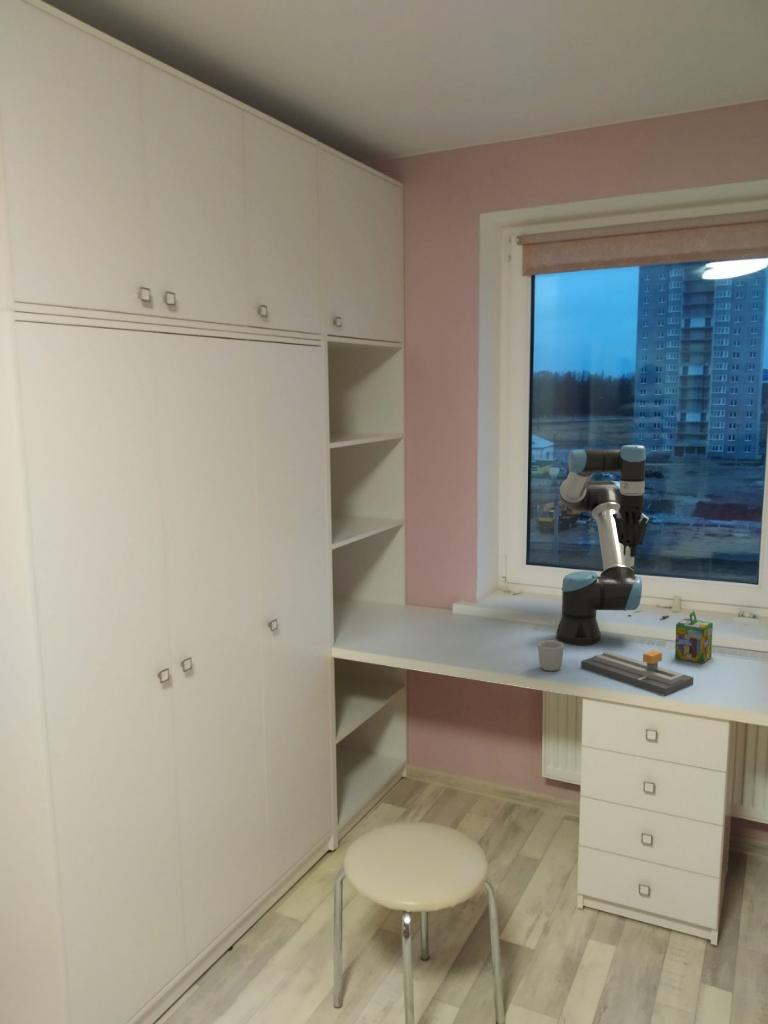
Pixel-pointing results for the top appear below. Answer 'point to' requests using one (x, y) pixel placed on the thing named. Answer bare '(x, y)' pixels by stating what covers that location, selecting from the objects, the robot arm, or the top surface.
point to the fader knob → (652, 660)
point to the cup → (550, 654)
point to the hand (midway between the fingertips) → (629, 566)
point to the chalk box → (693, 640)
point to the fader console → (637, 673)
